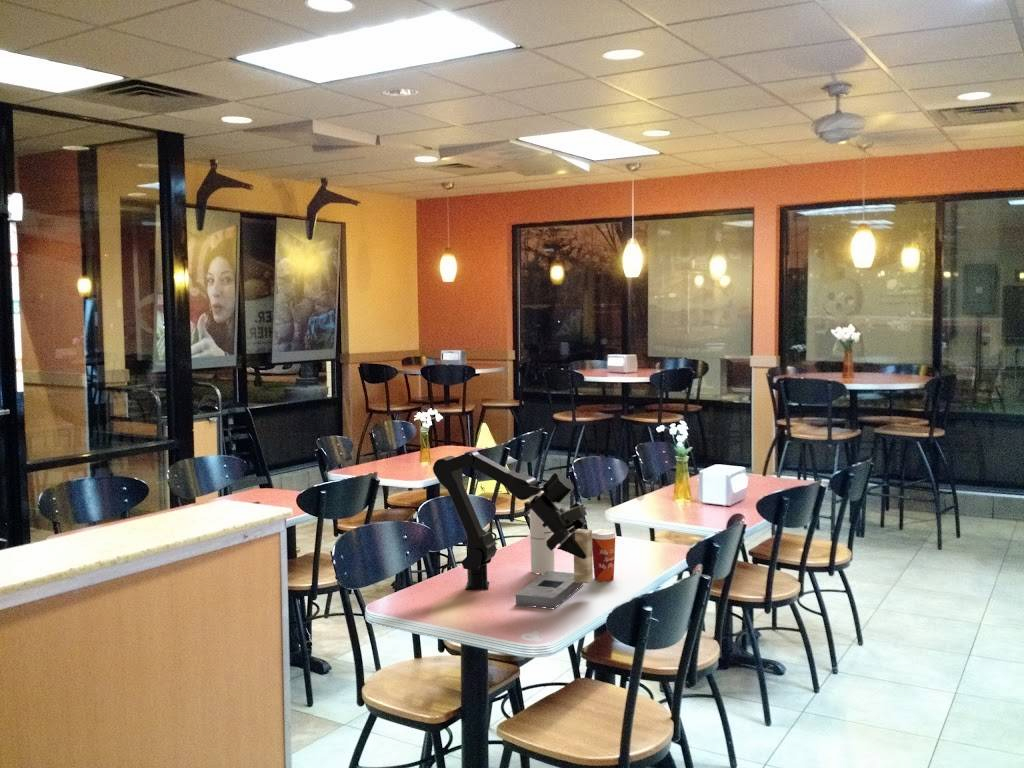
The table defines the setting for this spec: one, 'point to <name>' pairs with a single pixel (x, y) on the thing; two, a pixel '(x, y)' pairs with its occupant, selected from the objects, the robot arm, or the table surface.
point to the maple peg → (585, 566)
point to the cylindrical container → (540, 544)
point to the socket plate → (548, 590)
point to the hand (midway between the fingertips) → (587, 556)
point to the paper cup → (603, 554)
